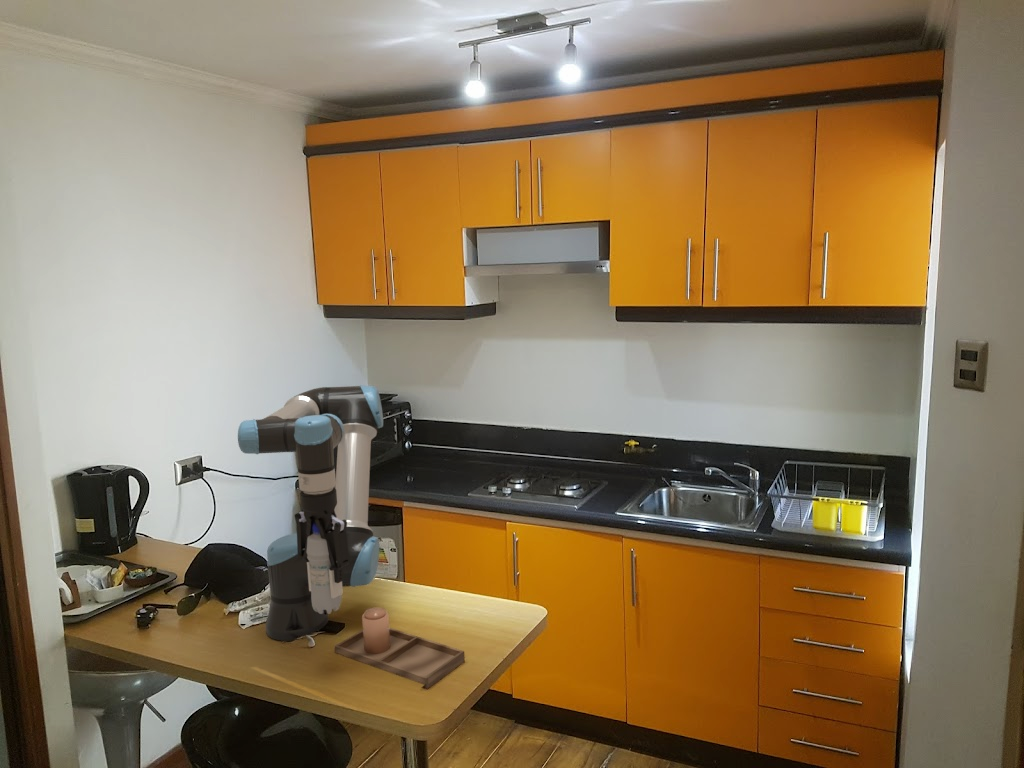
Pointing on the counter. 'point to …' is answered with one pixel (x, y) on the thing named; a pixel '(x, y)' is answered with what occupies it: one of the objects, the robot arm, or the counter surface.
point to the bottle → (320, 573)
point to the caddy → (406, 656)
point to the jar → (376, 630)
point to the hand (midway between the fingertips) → (325, 592)
